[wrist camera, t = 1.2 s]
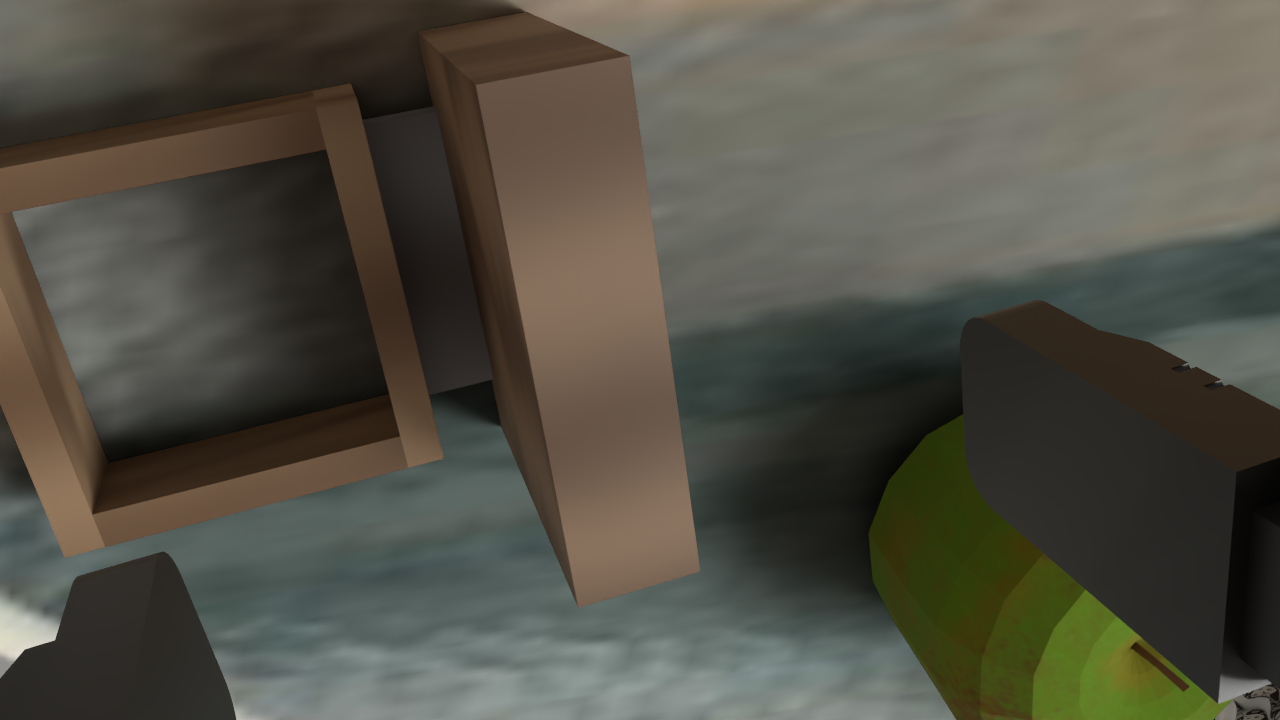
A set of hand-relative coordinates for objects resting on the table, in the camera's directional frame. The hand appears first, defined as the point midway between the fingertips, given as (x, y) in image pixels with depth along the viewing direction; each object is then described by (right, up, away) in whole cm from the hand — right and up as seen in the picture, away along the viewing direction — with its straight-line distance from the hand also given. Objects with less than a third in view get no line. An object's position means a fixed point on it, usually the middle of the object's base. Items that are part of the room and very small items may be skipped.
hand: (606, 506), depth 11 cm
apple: (+13, -4, +30) cm, 33 cm away
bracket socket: (-9, +4, +20) cm, 22 cm away
